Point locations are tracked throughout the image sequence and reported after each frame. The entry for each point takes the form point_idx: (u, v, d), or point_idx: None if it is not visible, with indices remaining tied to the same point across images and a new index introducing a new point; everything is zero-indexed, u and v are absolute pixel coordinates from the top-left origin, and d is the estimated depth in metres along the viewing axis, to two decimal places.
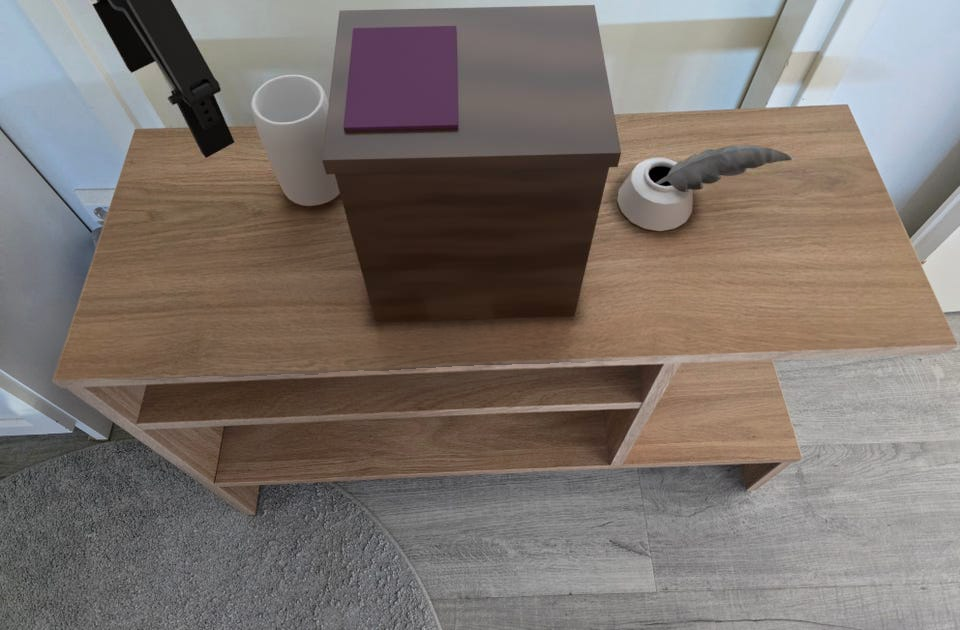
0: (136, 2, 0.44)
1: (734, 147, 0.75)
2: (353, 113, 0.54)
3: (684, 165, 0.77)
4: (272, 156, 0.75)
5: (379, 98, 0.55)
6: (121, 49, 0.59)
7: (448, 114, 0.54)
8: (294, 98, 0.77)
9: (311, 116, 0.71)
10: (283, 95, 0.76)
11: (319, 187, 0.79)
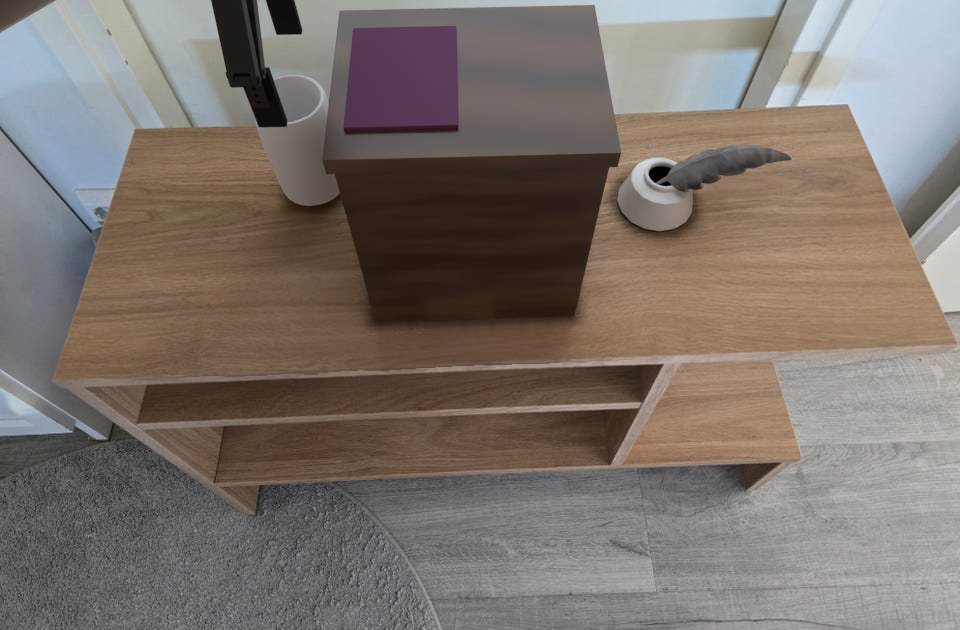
0: None
1: (734, 147, 0.75)
2: (353, 113, 0.54)
3: (684, 165, 0.77)
4: (272, 155, 0.75)
5: (379, 98, 0.55)
6: (272, 15, 0.71)
7: (448, 114, 0.54)
8: (294, 98, 0.77)
9: (311, 116, 0.71)
10: (283, 95, 0.76)
11: (319, 187, 0.79)
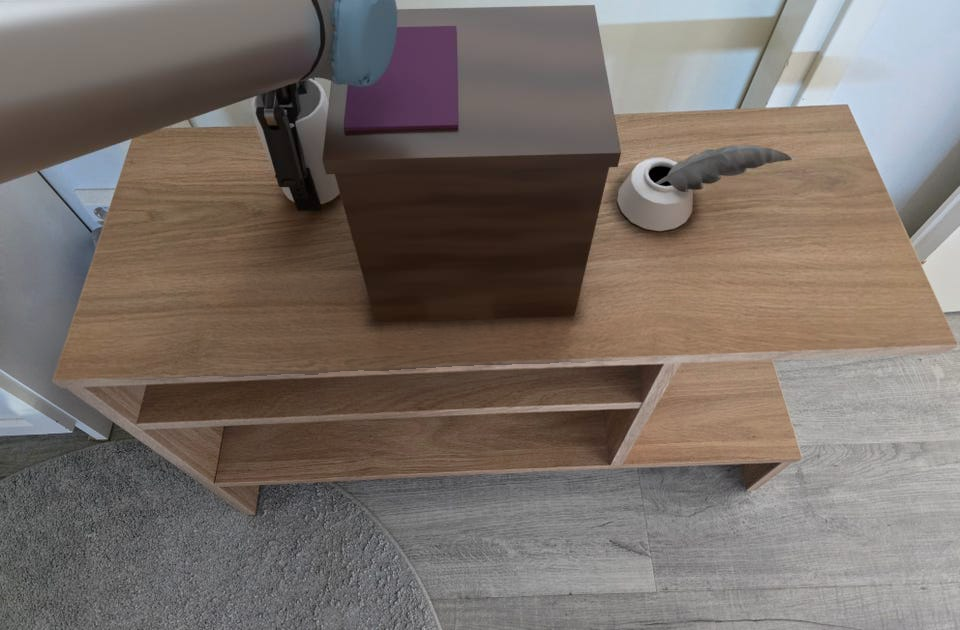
0: (266, 131, 0.67)
1: (734, 147, 0.75)
2: (353, 113, 0.54)
3: (684, 165, 0.77)
4: None
5: (379, 98, 0.55)
6: None
7: (448, 114, 0.54)
8: None
9: (311, 116, 0.71)
10: None
11: (319, 187, 0.79)
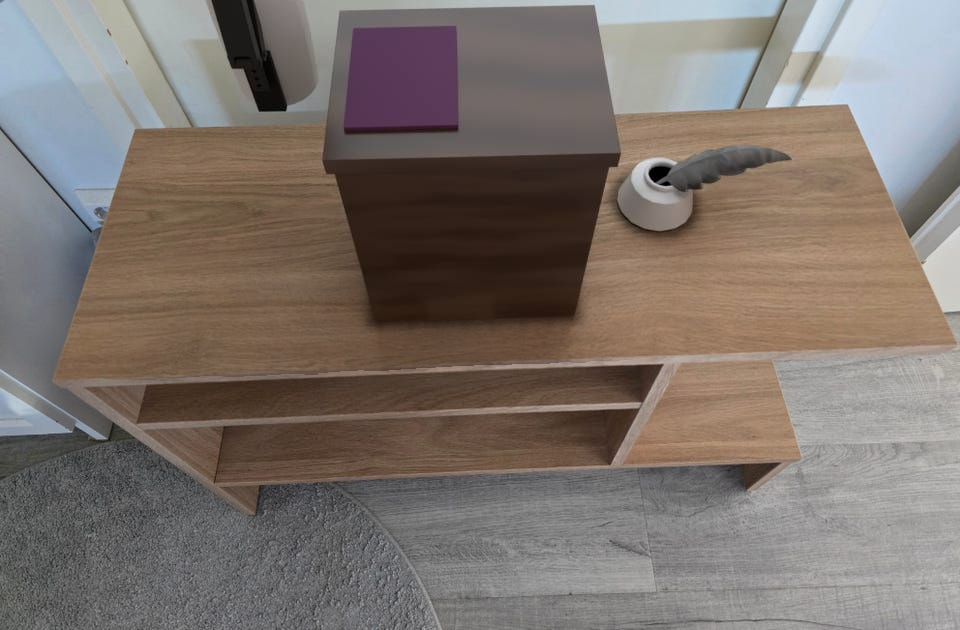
0: None
1: (734, 147, 0.75)
2: (353, 113, 0.54)
3: (684, 165, 0.77)
4: None
5: (379, 98, 0.55)
6: None
7: (448, 114, 0.54)
8: None
9: None
10: None
11: (284, 81, 0.65)
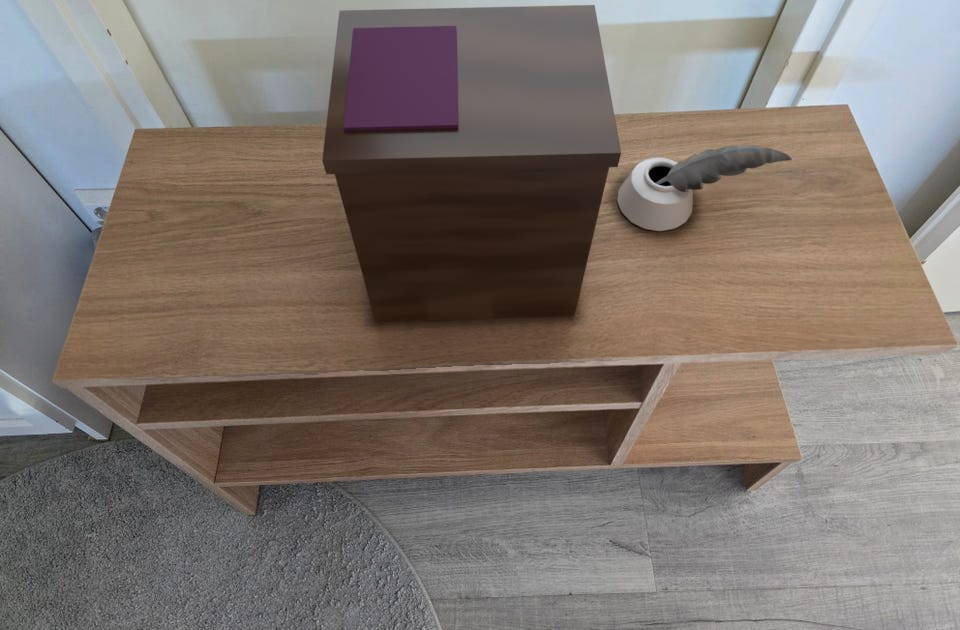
0: None
1: (734, 147, 0.75)
2: (353, 113, 0.54)
3: (684, 165, 0.77)
4: None
5: (379, 98, 0.55)
6: None
7: (448, 114, 0.54)
8: None
9: None
10: None
11: None
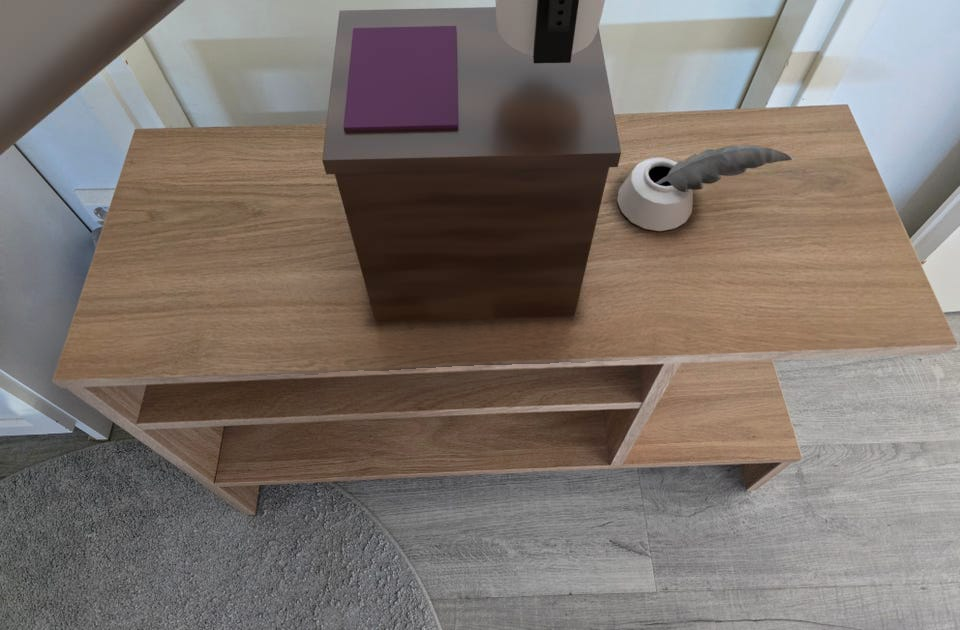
0: None
1: (734, 147, 0.75)
2: (353, 113, 0.54)
3: (684, 165, 0.77)
4: None
5: (379, 98, 0.55)
6: None
7: (448, 114, 0.54)
8: None
9: None
10: None
11: (577, 19, 0.48)
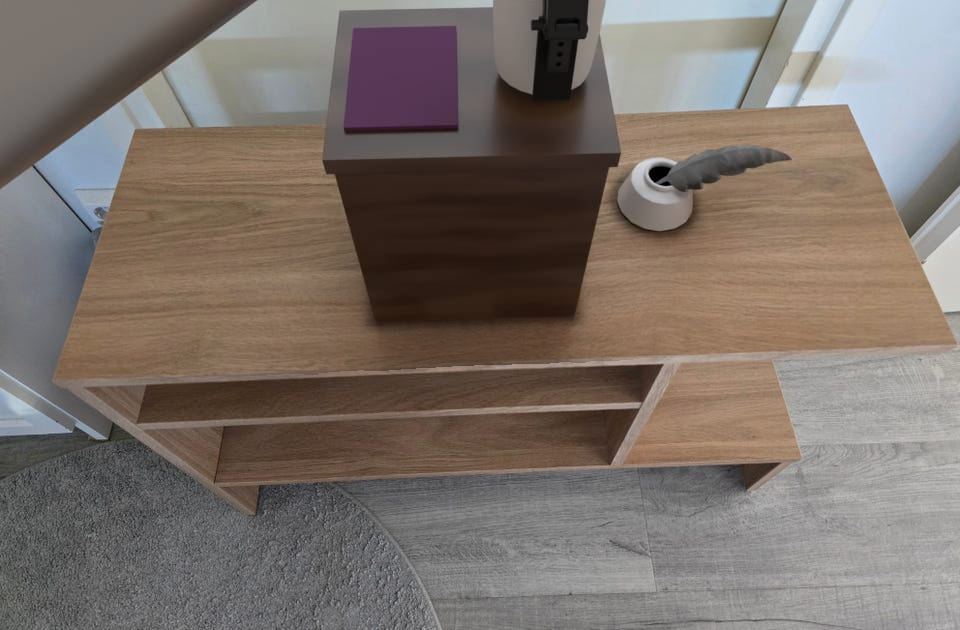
0: None
1: (734, 147, 0.75)
2: (353, 113, 0.54)
3: (684, 165, 0.77)
4: (517, 1, 0.47)
5: (379, 98, 0.55)
6: None
7: (448, 114, 0.54)
8: None
9: None
10: None
11: None
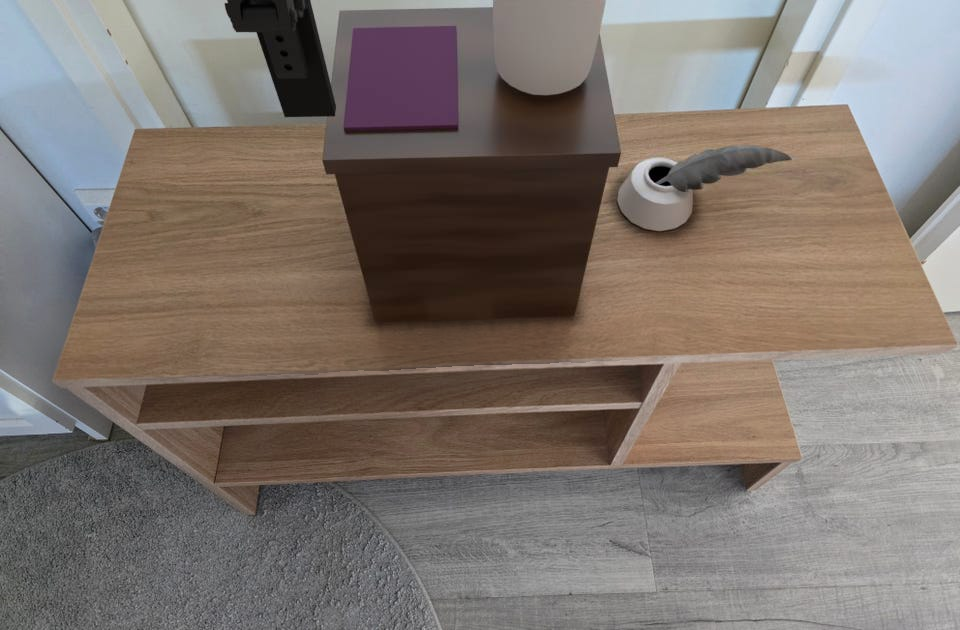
0: None
1: (734, 147, 0.75)
2: (353, 113, 0.54)
3: (684, 165, 0.77)
4: (517, 1, 0.47)
5: (379, 98, 0.55)
6: None
7: (448, 114, 0.54)
8: None
9: None
10: None
11: (571, 61, 0.51)
